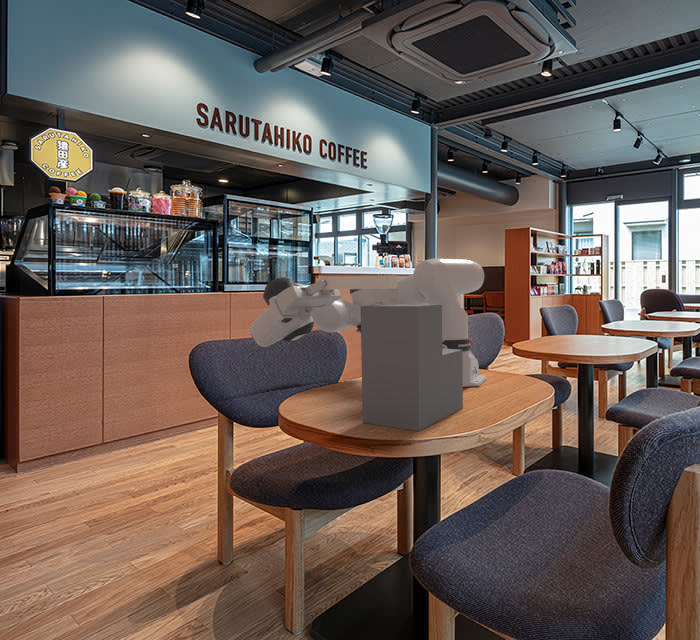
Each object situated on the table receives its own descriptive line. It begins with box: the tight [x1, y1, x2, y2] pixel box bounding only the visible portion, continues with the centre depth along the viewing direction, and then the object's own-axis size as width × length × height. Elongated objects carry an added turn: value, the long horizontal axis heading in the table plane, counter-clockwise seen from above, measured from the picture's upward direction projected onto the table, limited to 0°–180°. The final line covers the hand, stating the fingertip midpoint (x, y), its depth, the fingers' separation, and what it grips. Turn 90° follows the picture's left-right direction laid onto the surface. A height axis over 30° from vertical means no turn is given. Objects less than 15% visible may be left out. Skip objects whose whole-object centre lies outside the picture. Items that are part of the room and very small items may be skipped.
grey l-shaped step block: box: [360, 304, 464, 432], centre depth 118 cm, size 24×14×26 cm, turn 146°
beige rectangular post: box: [315, 274, 398, 290], centre depth 124 cm, size 4×21×3 cm, turn 57°
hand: (331, 281), depth 128 cm, fingers closed on beige rectangular post, 4 cm apart
